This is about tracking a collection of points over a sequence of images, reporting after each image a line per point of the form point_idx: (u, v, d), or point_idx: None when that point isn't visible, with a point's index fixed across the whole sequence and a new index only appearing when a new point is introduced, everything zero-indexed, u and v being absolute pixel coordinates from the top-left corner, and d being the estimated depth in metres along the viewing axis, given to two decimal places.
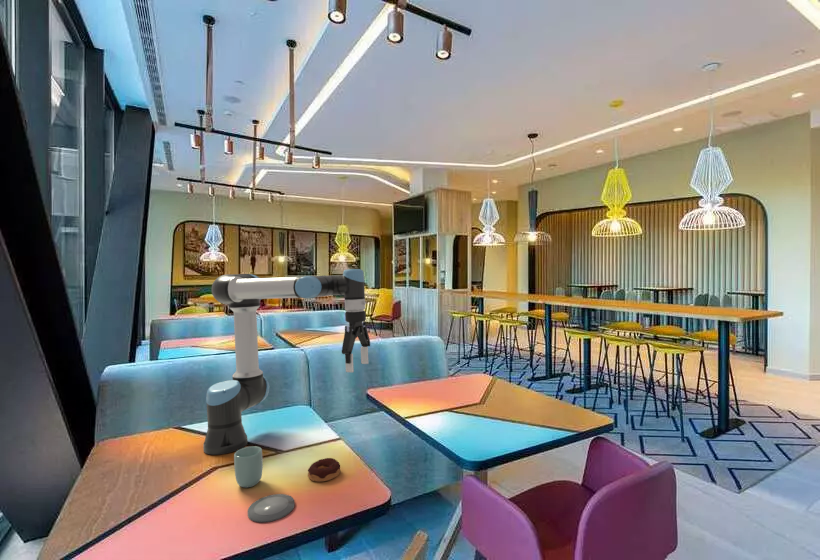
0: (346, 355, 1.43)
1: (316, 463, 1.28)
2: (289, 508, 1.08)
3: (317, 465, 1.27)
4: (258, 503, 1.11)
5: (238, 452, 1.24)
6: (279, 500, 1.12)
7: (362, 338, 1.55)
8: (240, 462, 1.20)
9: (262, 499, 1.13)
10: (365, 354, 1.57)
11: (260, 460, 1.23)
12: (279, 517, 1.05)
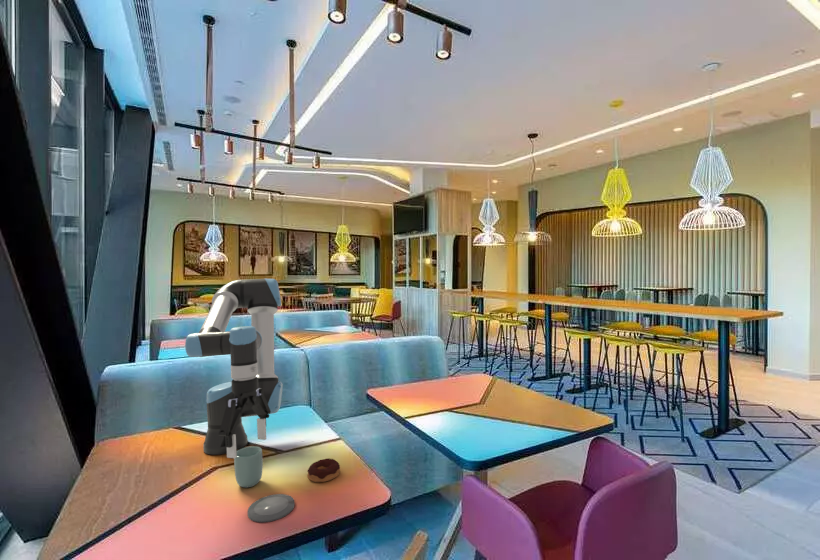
0: (226, 437, 1.15)
1: (316, 463, 1.28)
2: (289, 508, 1.08)
3: (316, 466, 1.27)
4: (258, 503, 1.11)
5: (238, 452, 1.24)
6: (279, 500, 1.12)
7: (257, 409, 1.27)
8: (239, 462, 1.20)
9: (262, 499, 1.13)
10: (262, 428, 1.29)
11: (260, 460, 1.23)
12: (279, 517, 1.05)
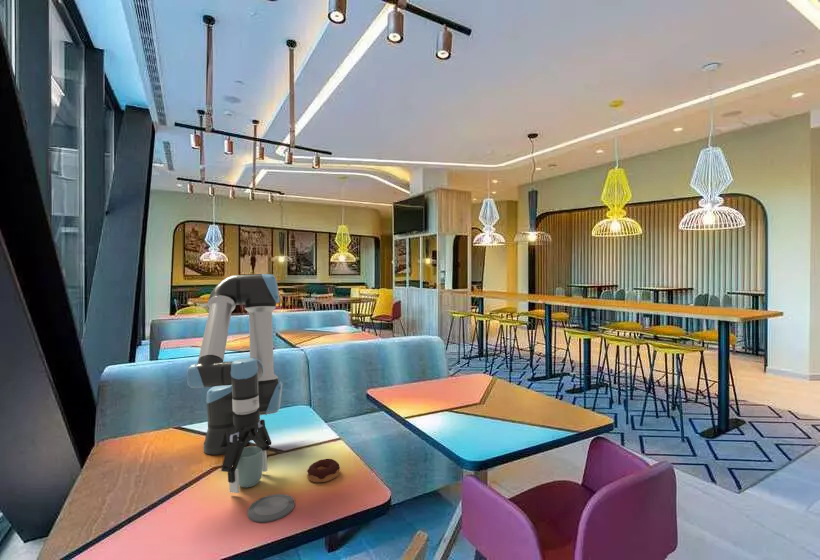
0: (228, 473, 1.16)
1: (315, 464, 1.28)
2: (289, 508, 1.08)
3: (316, 466, 1.27)
4: (258, 503, 1.11)
5: None
6: (279, 500, 1.12)
7: (258, 441, 1.27)
8: (240, 462, 1.20)
9: (262, 499, 1.13)
10: (263, 460, 1.29)
11: (260, 460, 1.23)
12: (279, 517, 1.05)
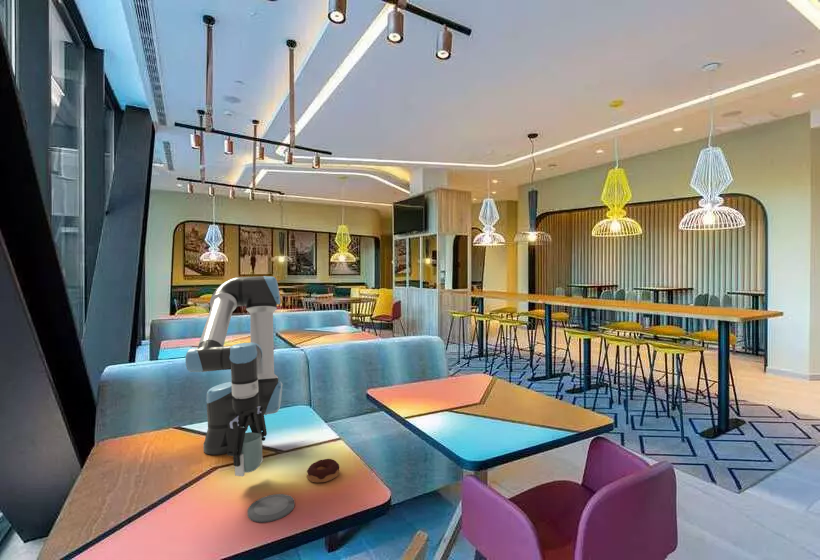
0: (234, 457, 1.19)
1: (315, 464, 1.28)
2: (289, 508, 1.08)
3: (316, 466, 1.27)
4: (258, 503, 1.11)
5: None
6: (279, 500, 1.12)
7: (255, 429, 1.26)
8: None
9: (262, 499, 1.13)
10: None
11: (260, 446, 1.23)
12: (279, 517, 1.05)
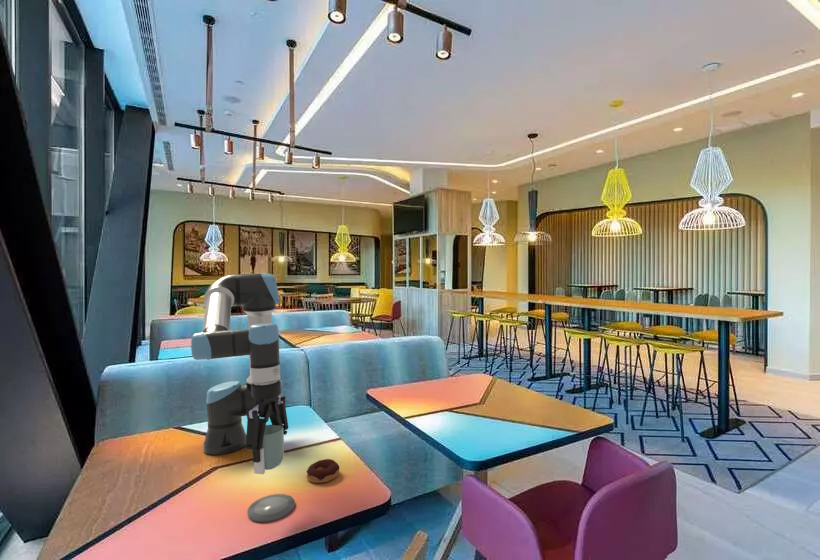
0: (253, 451, 1.04)
1: (315, 464, 1.27)
2: (289, 508, 1.08)
3: (315, 467, 1.27)
4: (258, 503, 1.11)
5: None
6: (279, 500, 1.12)
7: (275, 421, 1.12)
8: None
9: (262, 499, 1.13)
10: None
11: (281, 439, 1.09)
12: (279, 517, 1.05)
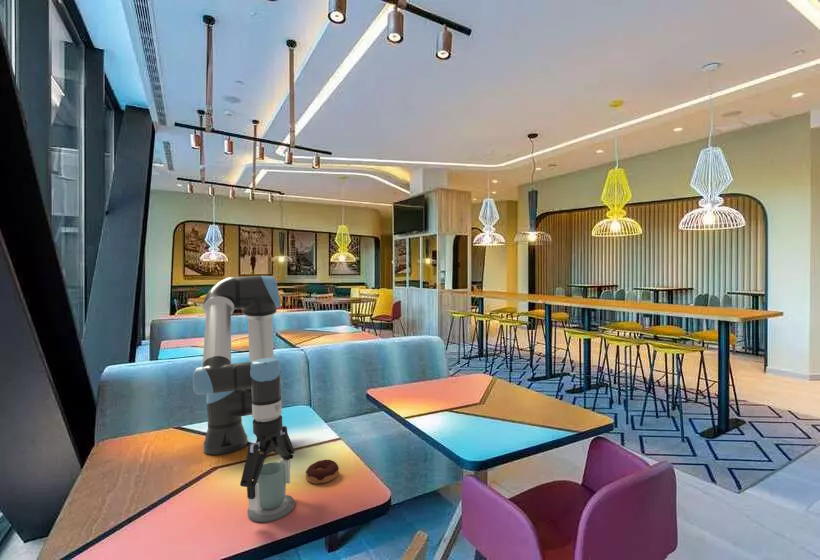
0: (248, 488, 1.02)
1: (314, 465, 1.27)
2: (289, 508, 1.08)
3: (315, 467, 1.26)
4: None
5: None
6: None
7: (280, 450, 1.13)
8: (261, 481, 1.06)
9: None
10: (286, 470, 1.16)
11: (283, 478, 1.09)
12: (279, 517, 1.05)
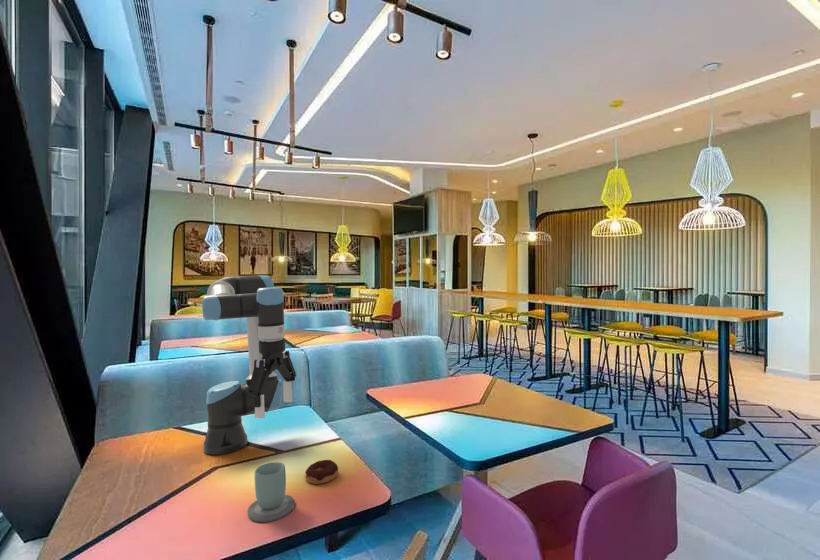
0: (254, 397, 1.14)
1: (313, 465, 1.27)
2: (289, 508, 1.08)
3: (314, 467, 1.26)
4: None
5: (259, 469, 1.10)
6: None
7: (283, 371, 1.26)
8: (261, 481, 1.06)
9: None
10: (288, 390, 1.28)
11: (283, 478, 1.09)
12: (279, 517, 1.05)
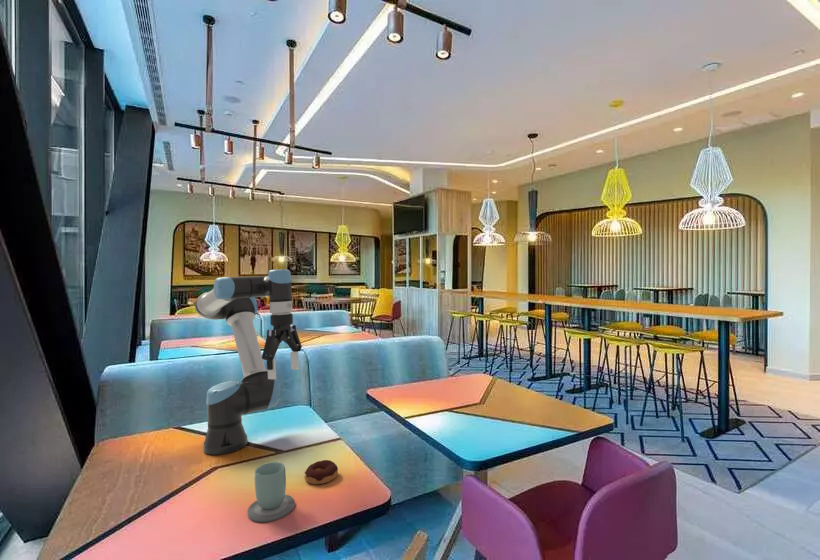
0: (267, 361, 1.34)
1: (313, 465, 1.27)
2: (289, 508, 1.08)
3: (314, 468, 1.26)
4: None
5: (259, 469, 1.10)
6: None
7: (291, 342, 1.46)
8: (261, 481, 1.06)
9: None
10: (295, 359, 1.48)
11: (283, 478, 1.09)
12: (279, 517, 1.05)
